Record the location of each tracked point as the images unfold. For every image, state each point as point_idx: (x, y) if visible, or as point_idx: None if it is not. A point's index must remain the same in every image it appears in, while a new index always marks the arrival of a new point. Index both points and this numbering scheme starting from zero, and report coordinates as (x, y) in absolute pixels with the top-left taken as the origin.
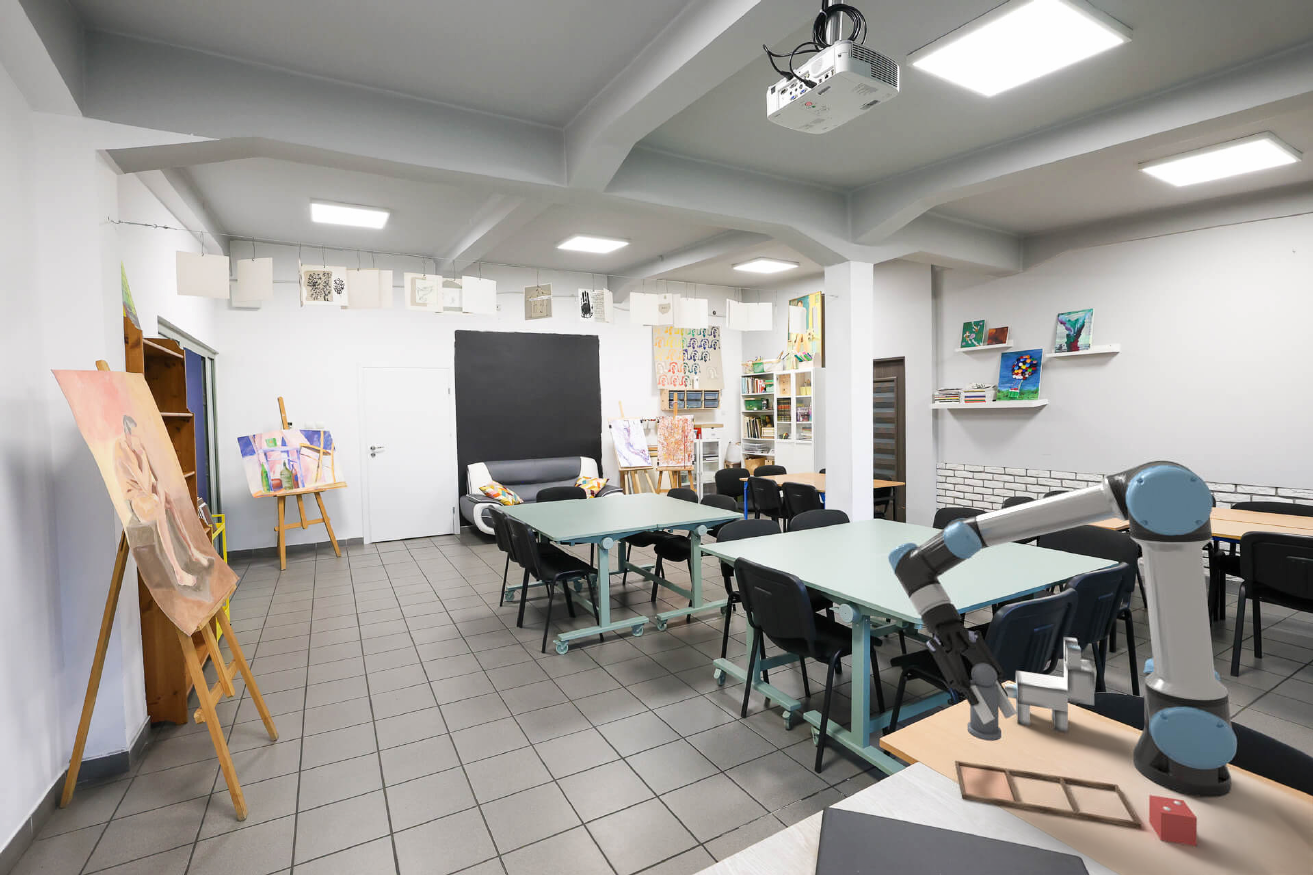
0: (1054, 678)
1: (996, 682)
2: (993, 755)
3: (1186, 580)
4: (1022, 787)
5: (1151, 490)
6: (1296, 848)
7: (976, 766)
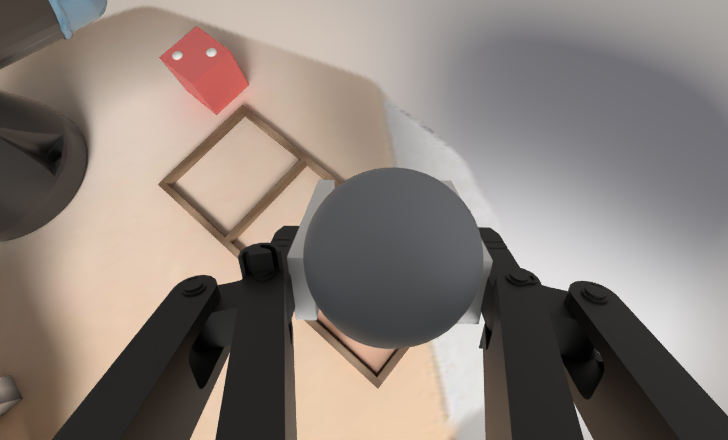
0: None
1: (301, 252)
2: None
3: None
4: None
5: None
6: (110, 19)
7: (347, 349)
